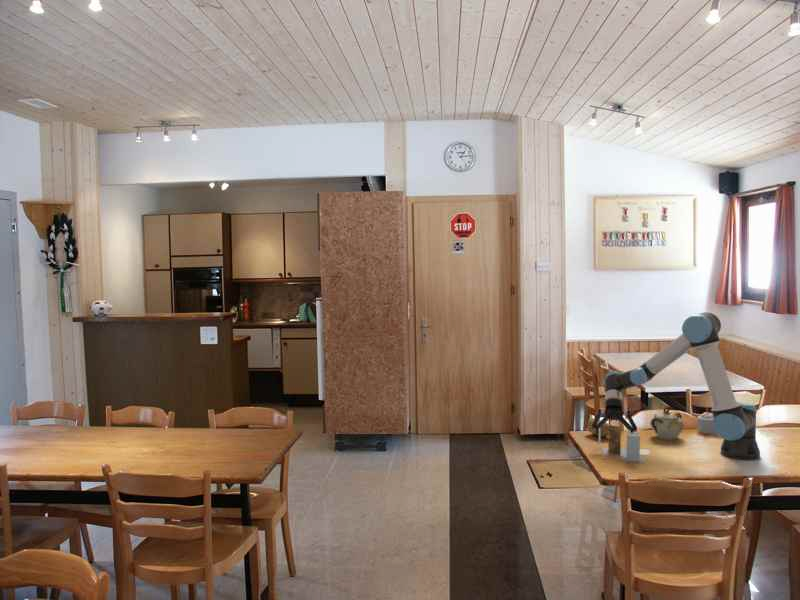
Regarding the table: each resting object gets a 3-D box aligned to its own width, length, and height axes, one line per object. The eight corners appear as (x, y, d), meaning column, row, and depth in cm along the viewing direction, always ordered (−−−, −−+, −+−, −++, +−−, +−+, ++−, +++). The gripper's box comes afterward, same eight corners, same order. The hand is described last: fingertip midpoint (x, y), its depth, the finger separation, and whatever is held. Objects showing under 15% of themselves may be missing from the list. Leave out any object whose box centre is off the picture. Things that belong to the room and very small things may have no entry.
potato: (601, 441, 294) (601, 425, 294) (582, 433, 307) (582, 418, 307) (617, 438, 298) (618, 422, 298) (598, 431, 311) (598, 415, 311)
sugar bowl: (664, 444, 288) (665, 412, 287) (639, 436, 302) (639, 406, 300) (694, 438, 297) (694, 407, 296) (668, 430, 310) (668, 401, 309)
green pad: (648, 450, 280) (648, 449, 280) (649, 455, 272) (649, 455, 272) (629, 448, 282) (629, 448, 282) (630, 454, 275) (630, 453, 275)
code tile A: (625, 449, 281) (625, 449, 281) (626, 456, 271) (626, 456, 271) (602, 448, 284) (602, 447, 284) (602, 455, 274) (602, 454, 274)
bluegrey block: (638, 458, 268) (638, 433, 268) (639, 461, 264) (639, 436, 263) (626, 457, 270) (626, 432, 269) (627, 460, 265) (627, 435, 264)
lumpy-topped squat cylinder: (729, 433, 304) (729, 415, 303) (706, 435, 301) (706, 417, 301) (714, 427, 314) (714, 410, 313) (691, 429, 311) (692, 412, 311)
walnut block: (620, 450, 279) (620, 426, 279) (620, 453, 275) (620, 429, 274) (608, 449, 281) (608, 425, 280) (608, 453, 276) (608, 428, 275)
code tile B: (642, 458, 269) (642, 457, 269) (643, 463, 262) (643, 463, 262) (622, 456, 272) (622, 455, 272) (623, 462, 264) (623, 461, 264)
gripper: (641, 407, 288) (643, 449, 274) (586, 404, 295) (586, 445, 281) (641, 398, 282) (644, 441, 269) (586, 396, 289) (586, 437, 276)
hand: (614, 443), depth 275 cm, fingers open, 12 cm apart
